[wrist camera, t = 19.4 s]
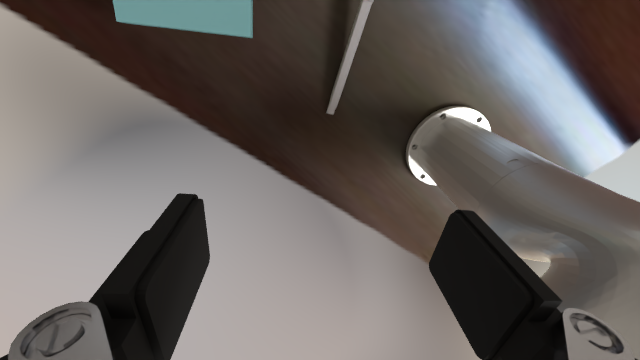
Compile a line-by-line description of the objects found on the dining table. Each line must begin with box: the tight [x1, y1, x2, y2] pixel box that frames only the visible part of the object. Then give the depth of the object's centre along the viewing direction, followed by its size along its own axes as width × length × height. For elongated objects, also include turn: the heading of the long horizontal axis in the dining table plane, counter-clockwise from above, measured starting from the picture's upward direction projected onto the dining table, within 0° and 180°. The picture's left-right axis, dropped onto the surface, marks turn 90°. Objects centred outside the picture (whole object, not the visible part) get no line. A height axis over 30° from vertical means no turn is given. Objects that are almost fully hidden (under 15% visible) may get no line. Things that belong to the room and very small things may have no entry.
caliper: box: [326, 0, 374, 115], centre depth 29 cm, size 20×1×6 cm, turn 165°
